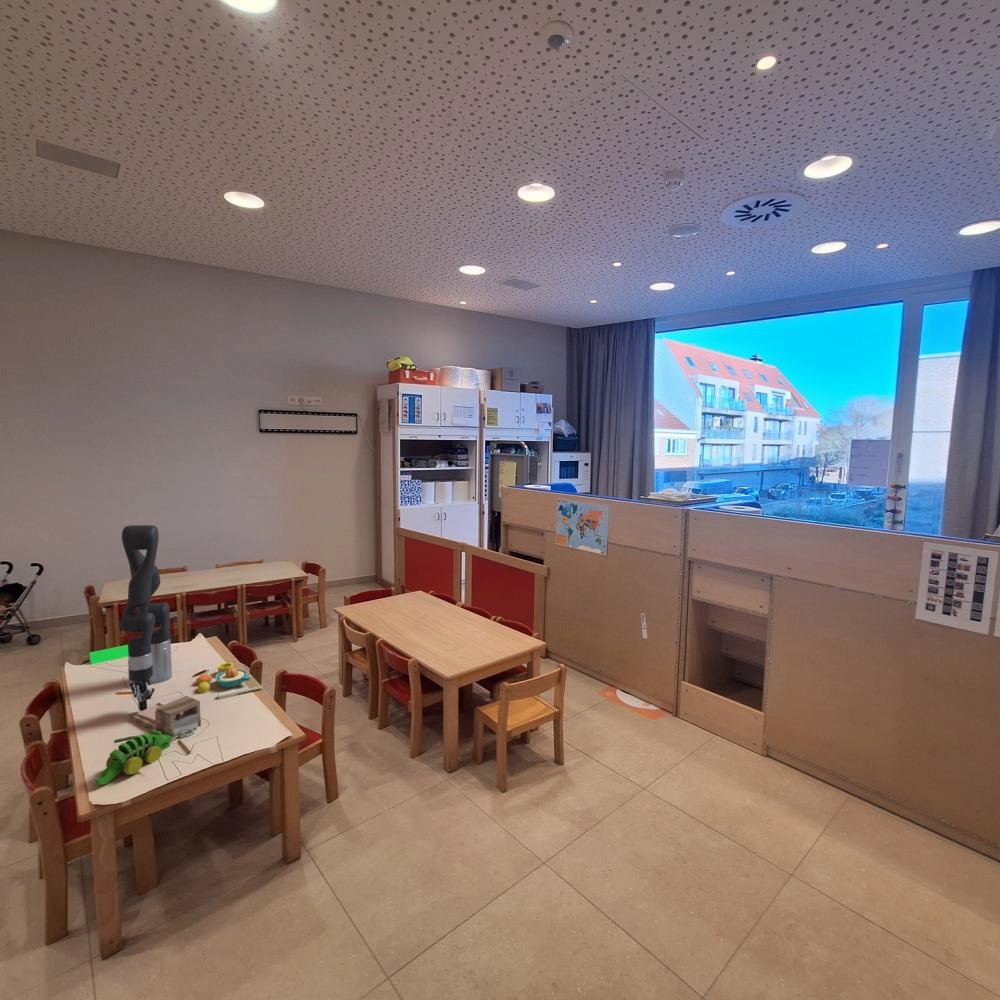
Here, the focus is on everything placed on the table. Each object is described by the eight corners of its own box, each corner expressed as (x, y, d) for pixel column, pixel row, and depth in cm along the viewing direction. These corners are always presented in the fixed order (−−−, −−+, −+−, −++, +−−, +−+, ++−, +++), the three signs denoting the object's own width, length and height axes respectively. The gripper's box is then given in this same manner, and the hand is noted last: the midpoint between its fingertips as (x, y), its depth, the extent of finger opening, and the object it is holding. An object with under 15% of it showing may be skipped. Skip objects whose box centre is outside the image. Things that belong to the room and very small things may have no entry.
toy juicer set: (185, 687, 219) (184, 669, 218) (229, 672, 234) (228, 655, 233) (218, 708, 202) (218, 688, 201) (263, 690, 217) (263, 672, 216)
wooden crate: (129, 720, 192) (128, 696, 191) (159, 707, 201) (158, 684, 200) (171, 739, 180) (169, 713, 179) (200, 725, 189) (199, 701, 188)
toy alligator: (202, 735, 184) (201, 711, 183) (107, 790, 153) (105, 762, 153) (182, 729, 187) (181, 706, 186) (85, 783, 157) (83, 755, 156)
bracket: (142, 659, 253) (140, 644, 254) (144, 657, 246) (143, 641, 247) (89, 671, 239) (88, 655, 241) (91, 668, 232) (89, 652, 234)
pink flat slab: (136, 721, 192) (136, 713, 192) (156, 712, 198) (155, 704, 198) (158, 728, 187) (157, 720, 187) (177, 719, 193) (176, 711, 193)
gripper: (119, 665, 194) (122, 709, 196) (139, 672, 188) (142, 718, 190) (141, 658, 201) (143, 701, 203) (161, 665, 195) (163, 709, 196)
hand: (143, 709), depth 196 cm, fingers closed
